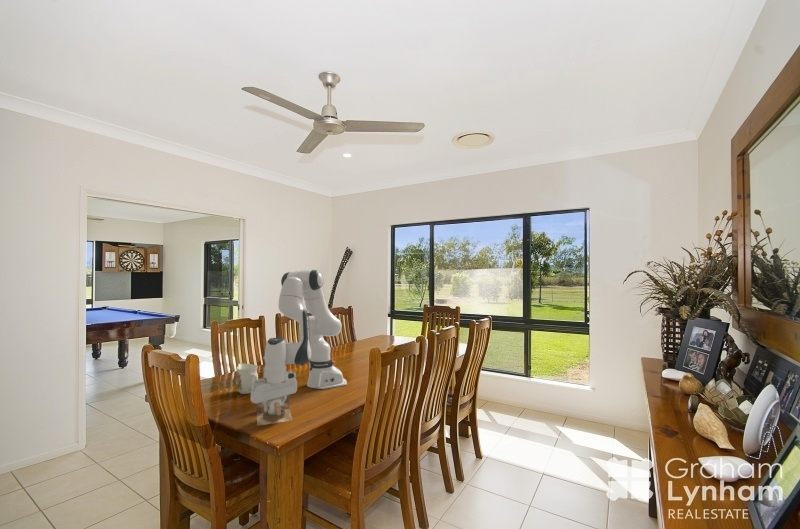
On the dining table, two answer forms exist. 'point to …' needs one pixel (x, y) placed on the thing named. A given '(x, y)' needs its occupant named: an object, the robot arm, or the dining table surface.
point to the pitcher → (246, 377)
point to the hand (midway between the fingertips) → (274, 408)
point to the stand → (269, 419)
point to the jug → (274, 406)
